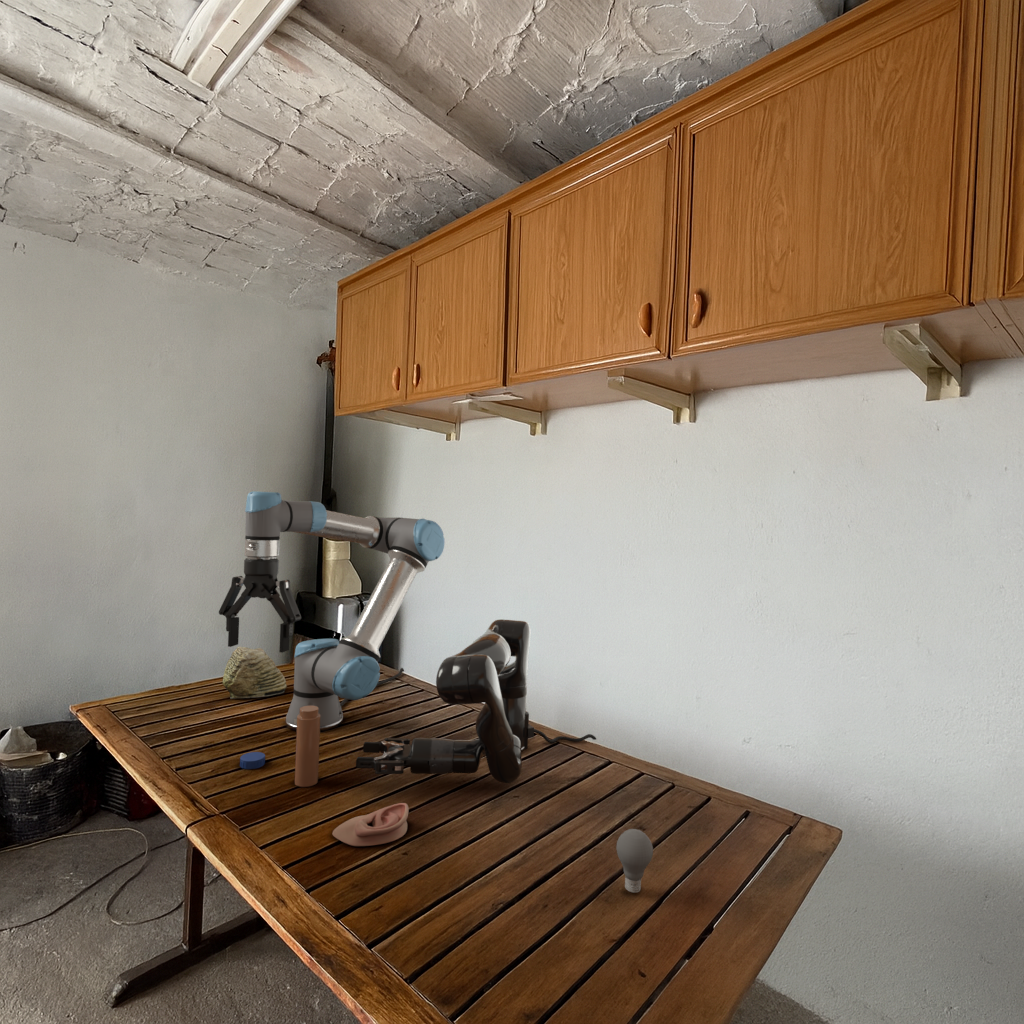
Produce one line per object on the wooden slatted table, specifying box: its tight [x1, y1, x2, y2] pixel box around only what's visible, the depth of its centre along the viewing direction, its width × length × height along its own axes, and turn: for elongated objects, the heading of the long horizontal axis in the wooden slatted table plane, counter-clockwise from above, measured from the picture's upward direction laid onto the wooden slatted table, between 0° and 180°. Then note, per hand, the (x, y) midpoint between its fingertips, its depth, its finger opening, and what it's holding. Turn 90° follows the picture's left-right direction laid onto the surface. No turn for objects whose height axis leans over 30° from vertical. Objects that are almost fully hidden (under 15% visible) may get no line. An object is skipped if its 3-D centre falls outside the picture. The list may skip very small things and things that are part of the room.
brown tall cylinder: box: [294, 706, 321, 788], centre depth 140 cm, size 5×5×16 cm
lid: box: [239, 751, 266, 770], centre depth 148 cm, size 6×6×2 cm
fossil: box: [222, 646, 288, 699], centre depth 198 cm, size 9×18×15 cm, turn 132°
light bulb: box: [615, 828, 654, 894], centre depth 106 cm, size 6×6×10 cm
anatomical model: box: [332, 802, 410, 847], centre depth 121 cm, size 13×4×12 cm
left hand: (258, 648), depth 148 cm, fingers open, 13 cm apart
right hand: (359, 754), depth 141 cm, fingers open, 8 cm apart
